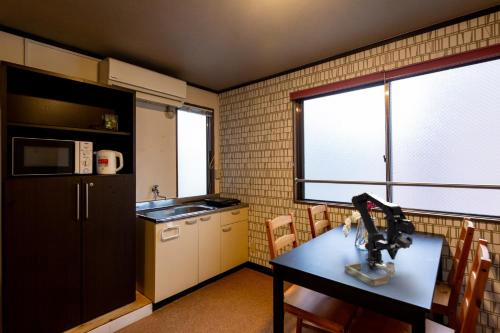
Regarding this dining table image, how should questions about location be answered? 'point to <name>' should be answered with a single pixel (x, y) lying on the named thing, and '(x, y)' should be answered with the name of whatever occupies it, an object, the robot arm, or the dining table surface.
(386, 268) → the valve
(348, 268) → the carrier nest
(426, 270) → the dining table surface
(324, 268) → the dining table surface
